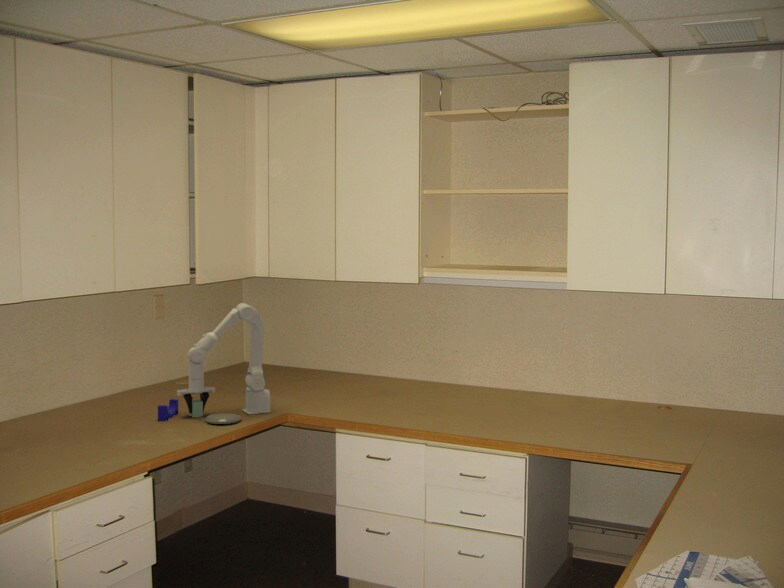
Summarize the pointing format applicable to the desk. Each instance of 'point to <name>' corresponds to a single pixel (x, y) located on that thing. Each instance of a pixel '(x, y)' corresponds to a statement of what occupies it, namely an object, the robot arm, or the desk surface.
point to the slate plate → (223, 418)
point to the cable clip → (168, 410)
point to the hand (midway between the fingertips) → (196, 412)
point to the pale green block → (197, 408)
